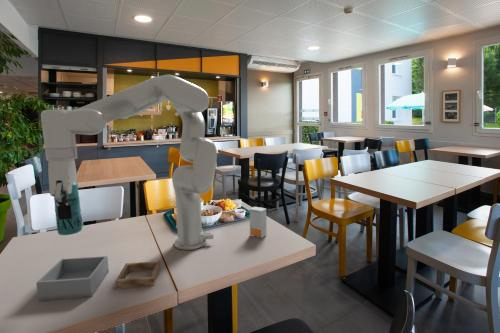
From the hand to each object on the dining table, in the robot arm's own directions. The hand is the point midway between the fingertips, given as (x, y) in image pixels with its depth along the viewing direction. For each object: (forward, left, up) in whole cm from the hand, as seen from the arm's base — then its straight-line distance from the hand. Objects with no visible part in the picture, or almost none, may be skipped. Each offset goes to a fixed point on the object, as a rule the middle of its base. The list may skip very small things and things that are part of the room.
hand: (69, 214), depth 88 cm
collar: (-18, -2, -22) cm, 29 cm away
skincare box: (-60, -30, -23) cm, 71 cm away
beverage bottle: (0, 0, -7) cm, 7 cm away
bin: (0, 0, -22) cm, 22 cm away
